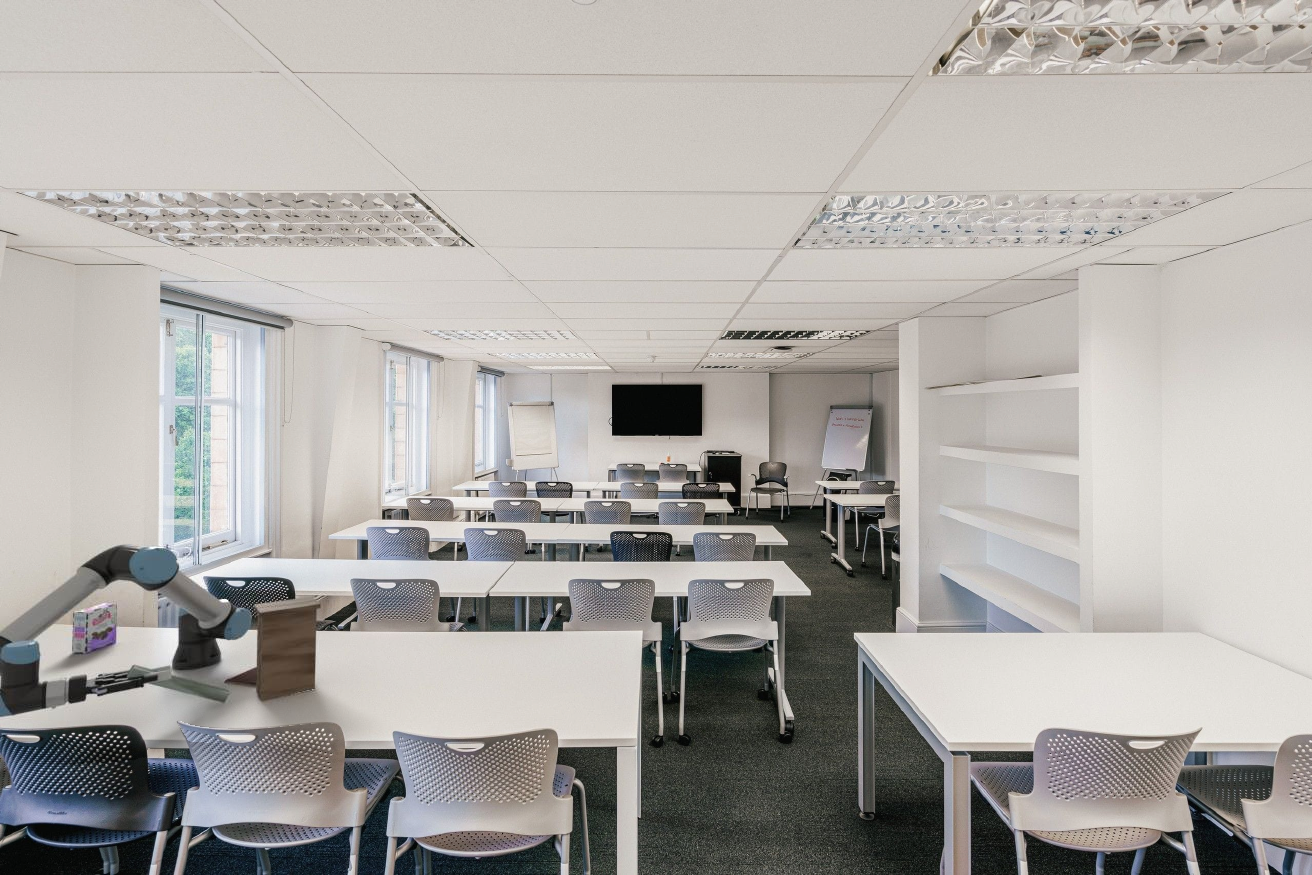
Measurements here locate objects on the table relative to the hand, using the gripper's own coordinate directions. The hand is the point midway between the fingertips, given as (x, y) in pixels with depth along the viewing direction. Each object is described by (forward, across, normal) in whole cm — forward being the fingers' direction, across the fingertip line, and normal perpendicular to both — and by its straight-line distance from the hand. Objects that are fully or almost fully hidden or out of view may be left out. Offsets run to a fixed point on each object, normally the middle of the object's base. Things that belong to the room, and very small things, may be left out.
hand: (170, 671), depth 193 cm
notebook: (+29, -20, -15) cm, 38 cm away
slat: (+2, 0, -6) cm, 6 cm away
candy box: (-19, -92, -14) cm, 95 cm away
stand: (+32, 0, -14) cm, 35 cm away
